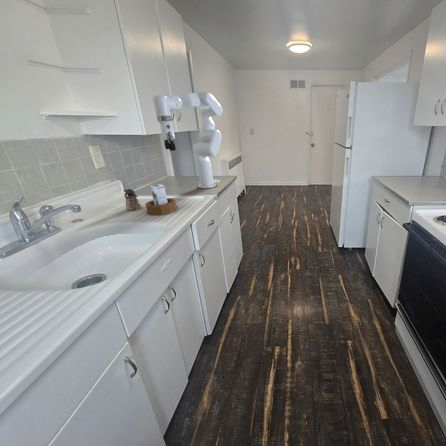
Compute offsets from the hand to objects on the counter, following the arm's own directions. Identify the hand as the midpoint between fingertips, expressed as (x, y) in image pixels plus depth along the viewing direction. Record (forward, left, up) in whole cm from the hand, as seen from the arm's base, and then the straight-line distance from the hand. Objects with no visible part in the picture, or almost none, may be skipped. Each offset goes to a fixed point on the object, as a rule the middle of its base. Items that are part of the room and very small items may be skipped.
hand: (170, 149), depth 153 cm
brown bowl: (+15, +19, -30) cm, 39 cm away
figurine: (+27, +5, -31) cm, 41 cm away
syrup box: (+15, +19, -31) cm, 39 cm away
